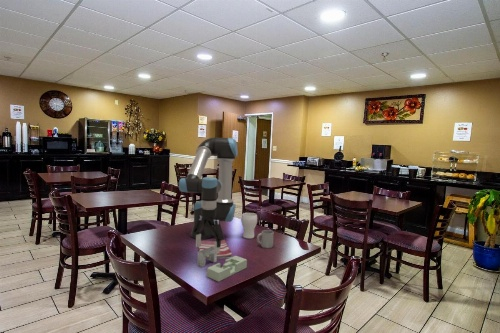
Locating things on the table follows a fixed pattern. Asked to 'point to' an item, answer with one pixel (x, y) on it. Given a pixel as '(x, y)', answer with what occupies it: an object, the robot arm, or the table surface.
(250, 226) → the cup
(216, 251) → the robot arm
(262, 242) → the cup
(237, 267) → the rail
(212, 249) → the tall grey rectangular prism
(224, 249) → the dish towel
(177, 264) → the table surface
